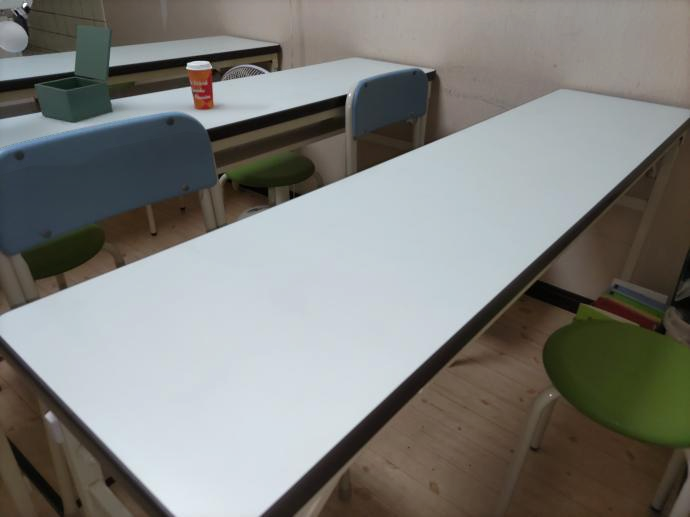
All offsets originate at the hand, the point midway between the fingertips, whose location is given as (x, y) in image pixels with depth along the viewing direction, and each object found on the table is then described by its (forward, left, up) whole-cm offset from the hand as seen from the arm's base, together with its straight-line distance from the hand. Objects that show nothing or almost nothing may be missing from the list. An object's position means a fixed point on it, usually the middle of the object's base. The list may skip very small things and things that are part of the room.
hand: (8, 36), depth 128 cm
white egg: (0, 0, -4) cm, 4 cm away
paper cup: (+40, -25, -23) cm, 53 cm away
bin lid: (+24, +2, -7) cm, 25 cm away
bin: (+15, +2, -23) cm, 28 cm away
